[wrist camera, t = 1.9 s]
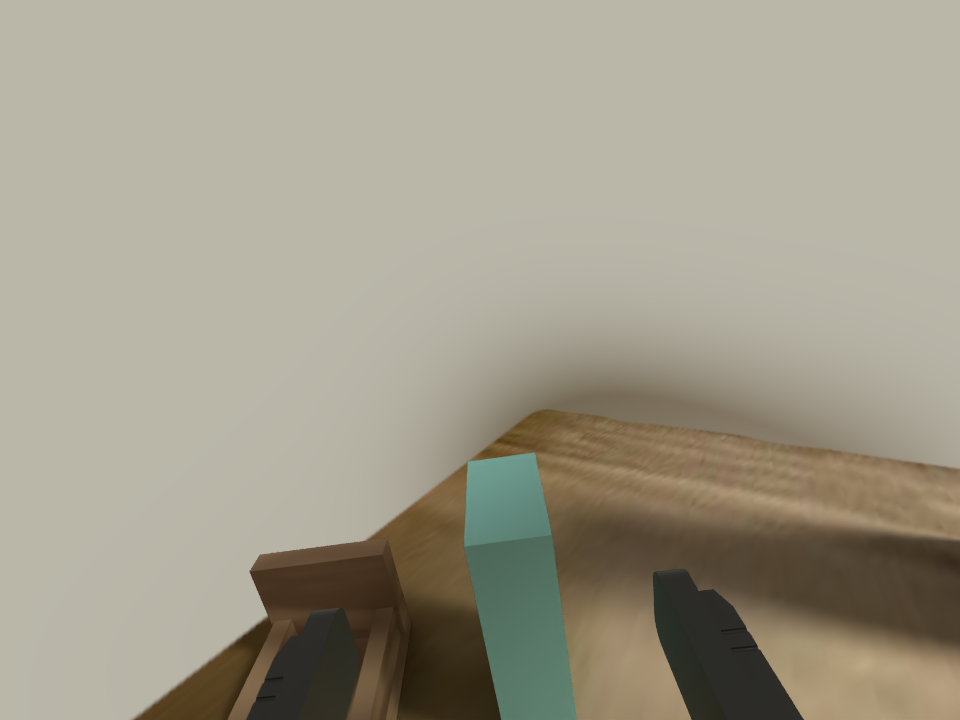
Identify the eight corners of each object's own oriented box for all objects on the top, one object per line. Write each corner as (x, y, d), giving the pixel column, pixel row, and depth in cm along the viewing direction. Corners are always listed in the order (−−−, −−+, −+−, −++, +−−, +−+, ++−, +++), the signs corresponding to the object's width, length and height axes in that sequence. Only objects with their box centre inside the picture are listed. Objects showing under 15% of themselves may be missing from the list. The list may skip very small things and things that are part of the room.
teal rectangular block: (501, 633, 32) (467, 461, 27) (558, 626, 32) (534, 452, 27) (507, 746, 25) (464, 546, 21) (579, 739, 25) (552, 534, 20)
